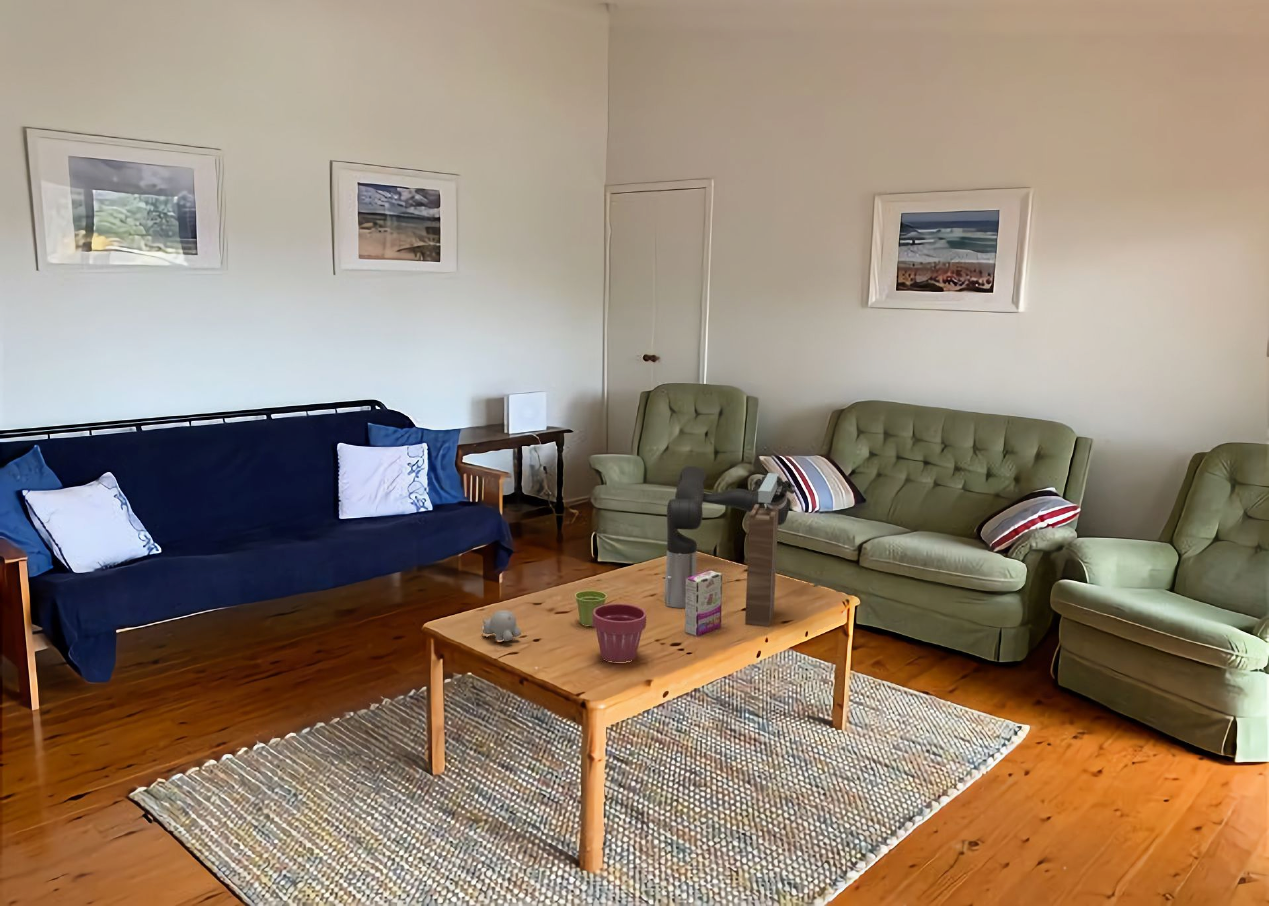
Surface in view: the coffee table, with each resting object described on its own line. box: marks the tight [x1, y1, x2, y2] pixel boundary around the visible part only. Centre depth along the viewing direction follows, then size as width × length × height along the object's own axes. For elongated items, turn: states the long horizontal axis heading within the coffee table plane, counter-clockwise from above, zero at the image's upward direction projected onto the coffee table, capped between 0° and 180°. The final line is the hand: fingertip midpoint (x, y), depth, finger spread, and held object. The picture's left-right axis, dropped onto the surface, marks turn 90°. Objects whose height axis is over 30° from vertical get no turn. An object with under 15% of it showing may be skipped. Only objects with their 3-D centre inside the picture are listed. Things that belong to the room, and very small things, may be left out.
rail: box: [758, 472, 780, 503], centre depth 291 cm, size 26×4×4 cm, turn 166°
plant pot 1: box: [574, 590, 608, 627], centre depth 279 cm, size 9×9×9 cm
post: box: [744, 504, 779, 628], centre depth 284 cm, size 14×7×33 cm, turn 166°
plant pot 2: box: [592, 603, 647, 662], centre depth 254 cm, size 14×14×13 cm
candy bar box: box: [684, 570, 723, 637], centre depth 275 cm, size 11×5×16 cm, turn 136°
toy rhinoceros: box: [481, 609, 522, 642], centre depth 266 cm, size 7×12×8 cm, turn 55°
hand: (771, 478), depth 297 cm, fingers closed on rail, 3 cm apart
